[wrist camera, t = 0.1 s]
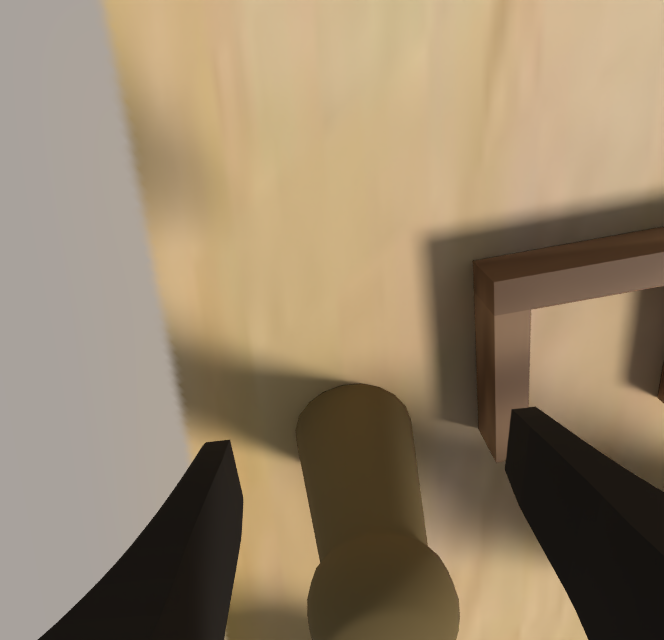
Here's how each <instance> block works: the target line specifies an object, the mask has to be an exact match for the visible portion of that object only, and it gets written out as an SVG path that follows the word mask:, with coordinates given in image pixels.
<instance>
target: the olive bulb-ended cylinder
mask: <svg viewBox="0 0 664 640" xmlns="http://www.w3.org/2000/svg"><path fill="white" fill-rule="evenodd" d="M296 438H297V446H298V451H299V456H300V461H301V466H302V471H303V476H304V482H305V487H306V492H307V497H308V502H309V507H310V513H311V518H312V523H313V528H314V533H315V538H316V543H317V549H318V554H319V559H320V564H319V565H318V567H317V568H316V571H315V573H314V576H313V579H312V582H311V586H310V590H309V594H308V598H307V616H308V623H309V630H310V634H311V637H312V640H456V638H457V634H458V631H459V620H460V612H459V599H458V596H457V593H456V590H455V587H454V584H453V581H452V579H451V577H450V575H449V572H448V570H447V568H446V567H445V565H444V564H443V562H442V560H441V559H440V557H439V556H438V555H437V554H436V553H435V552H434V551H433V550H431V549H430V548H429V547H428V545H427V537H426V530H425V522H424V515H423V507H422V500H421V492H420V484H419V477H418V469H417V462H416V454H415V447H414V439H413V431H412V424H411V419H410V416H409V414H408V411H407V409H406V406H405V405H404V404H403V403H402V402H401V401H400V400H399V399H398V398H397V397H396V396H395V395H394V394H392V393H390V392H388V391H386V390H384V389H382V388H380V387H376V386H371V385H365V384H353V385H342V386H339V387H336V388H334V389H331V390H328V391H325V392H323V393H322V394H321V395H319V396H318V397H316V398H315V399H314V400H312V401H311V402H310V403H309V404H308V405H307V407H306V408H305V409H304V411H303V412H302V413H301V415H300V417H299V420H298V424H297V427H296Z"/></svg>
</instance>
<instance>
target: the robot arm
mask: <svg viewBox="0 0 664 640" xmlns="http://www.w3.org/2000/svg"><path fill="white" fill-rule="evenodd" d="M505 471H506V474H507V476H508V479H509V482H510V484H511V487H512V489H513V492H514V494H515V497H516V499H517V502H518V504H519V506H520V508H521V510H522V512H523V514H524V516H525V518H526V520H527V521H528V523H529V525H530V527H531V529H532V531H533V532H534V534H535V536H536V538H537V540H538V542H539V543H540V545H541V547H542V549H543V551H544V552H545V554H546V556H547V558H548V560H549V561H550V563H551V565H552V567H553V569H554V570H555V572H556V574H557V576H558V578H559V579H560V581H561V583H562V585H563V587H564V588H565V590H566V592H567V594H568V596H569V598H570V600H571V602H572V604H573V606H574V608H575V610H576V612H577V615H578V617H579V619H580V621H581V624H582V626H583V628H584V631H585V633H586V635H587V637H588V640H664V492H663V491H661V490H659V489H658V488H656V487H654V486H652V485H651V484H649V483H648V482H646V481H644V480H643V479H641V478H639V477H638V476H636V475H635V474H633V473H631V472H630V471H628V470H626V469H625V468H623V467H622V466H620V465H619V464H617V463H616V462H614V461H613V460H611V459H610V458H608V457H607V456H605V455H604V454H602V453H601V452H599V451H598V450H596V449H595V448H593V447H592V446H590V445H589V444H587V443H586V442H585V441H583V440H582V439H580V438H579V437H577V436H576V435H575V434H573V433H572V432H570V431H569V430H568V429H566V428H565V427H563V426H562V425H561V424H559V423H558V422H556V421H555V420H554V419H552V418H551V417H549V416H548V415H546V414H545V413H544V412H542V411H541V410H539V409H538V408H536V407H528V408H519V409H511V418H510V427H509V436H508V446H507V455H506V464H505ZM242 518H243V495H242V490H241V486H240V482H239V477H238V473H237V468H236V464H235V460H234V455H233V451H232V447H231V442H230V440H224V441H214V442H206V443H205V444H204V445H203V446H202V448H201V449H200V451H199V452H198V454H197V456H196V457H195V459H194V460H193V462H192V463H191V465H190V466H189V468H188V469H187V471H186V473H185V474H184V476H183V477H182V478H181V480H180V481H179V483H178V484H177V486H176V487H175V489H174V490H173V491H172V493H171V494H170V496H169V497H168V498H167V500H166V501H165V503H164V504H163V505H162V507H161V508H160V510H159V511H158V512H157V514H156V515H155V516H154V517H153V519H152V520H151V521H150V522H149V524H148V525H147V526H146V528H145V529H144V530H143V531H142V533H141V534H140V535H139V536H138V538H137V539H136V540H135V541H134V543H133V544H132V545H131V546H130V547H129V549H128V550H127V551H126V552H125V553H124V554H123V556H122V557H121V558H120V559H119V560H118V561H117V562H116V564H115V565H114V566H113V567H112V568H111V569H110V570H109V571H108V572H107V573H106V574H105V576H104V577H103V578H102V579H101V580H100V581H99V582H98V583H97V584H96V585H95V586H94V587H93V588H92V589H91V590H90V591H89V592H88V593H87V594H86V595H85V596H84V597H83V598H82V599H81V600H80V601H79V602H78V603H77V604H76V605H75V606H74V607H73V608H72V609H71V610H70V611H69V612H68V613H67V614H66V615H64V616H63V617H62V618H61V619H60V620H59V621H58V622H57V623H56V624H55V625H54V626H53V627H52V628H50V630H48V631H47V632H46V633H45V634H44V635H43V636H42V637H40V638H39V639H38V640H224V636H225V629H226V623H227V618H228V612H229V606H230V601H231V595H232V589H233V583H234V578H235V572H236V566H237V560H238V554H239V549H240V542H241V534H242Z"/></svg>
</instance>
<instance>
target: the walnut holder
mask: <svg viewBox="0 0 664 640" xmlns="http://www.w3.org/2000/svg"><path fill="white" fill-rule="evenodd" d="M473 276H474V306H475V337H476V367H477V397H478V428H479V431H480V433H481V435H482V437H483V438H484V440H485V442H486V444H487V446H488V448H489V450H490V452H491V454H492V456H493V458H494V459H495V461H496V463H497V462H503V461H506V455H507V446H508V436H509V427H510V418H511V409H519V408H528V405H529V367H530V330H531V309H537V308H542V307H548V306H554V305H559V304H565V303H570V302H576V301H582V300H587V299H593V298H599V297H604V296H610V295H615V294H621V293H627V292H632V291H638V290H644V289H649V288H655V287H661V286H664V227H659V228H653V229H648V230H642V231H637V232H631V233H626V234H620V235H614V236H609V237H603V238H598V239H592V240H587V241H581V242H575V243H570V244H564V245H559V246H553V247H548V248H542V249H536V250H531V251H525V252H520V253H514V254H509V255H503V256H497V257H492V258H486V259H481V260H475V261H473ZM658 399H659V400H661V401H662V402H663V403H664V364H663V370H662V375H661V381H660V387H659V392H658Z"/></svg>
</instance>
